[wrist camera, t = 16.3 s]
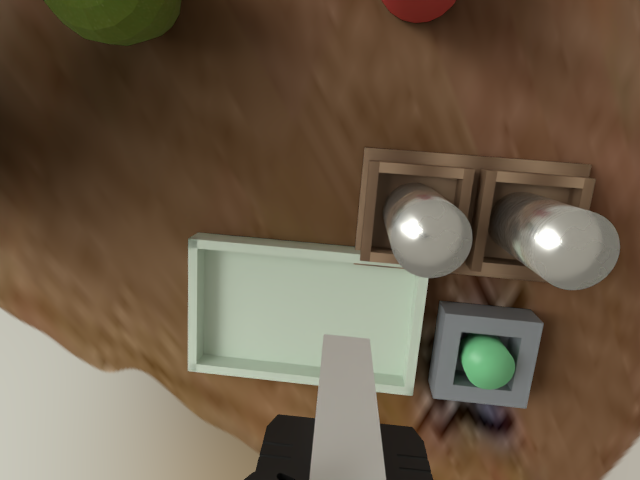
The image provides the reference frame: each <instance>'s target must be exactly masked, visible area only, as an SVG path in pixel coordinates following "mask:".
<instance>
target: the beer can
mask: <svg viewBox="0 0 640 480" xmlns="http://www.w3.org/2000/svg"><path fill="white" fill-rule="evenodd" d="M382 2H383V3H384V5H385V6H386V7H387V8H388V10H389V11H390V12H391V13H392V14H394V15H395V16H397V17H398V18H400V19H401V20H404V21H408V22H413V23H420V22H429V21H431V20H433V19H435V18H438V17H440V16H442V15H443V14H444V13H445V12H446V11H447V10H448V9H449V8H451V7H452V6H453V4H454V3H455V2H456V0H382Z"/></svg>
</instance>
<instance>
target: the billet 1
mask: <svg viewBox="0 0 640 480" xmlns="http://www.w3.org/2000/svg"><path fill="white" fill-rule="evenodd" d="M383 219H384V223H385V227H386V230H387V234H388V237H389V241H390V244H391V248H392V251H393V254H394V256H395V258H396V260H397V261H398V263H399V264H400V265H401V266H402V267H403V268H404V269H405V270H406V271H408V272H410V273H411V274H413V275H416V276H419V277H424V278H437V277H442V276H445V275H447V274H449V273H451V272H453V271H454V270H456V269H457V268H458V267H460V266H461V265H462V263H463V262H464V261H465V260H466V258H467V256H468V254H469V252H470V250H471V246H472V229H471V226H470V223H469V221H468V219H467V218H466V216H465V215H464V214H463V212H462V211H461V210H459V209H458V208H457V207H456V206H454V205H453V204H452V203H450V202H449V201H448V200H446V199H445V198H444V197H442V196H441V195H440V194H439V193H437V192H436V191H435V190H433V189H432V188H431V187H429V186H427V185H425V184H422V183H406V184H403V185H401V186H399V187H397V188H396V189H394V190H393V191H392V192H391V193H390V194H389V195H388V197H387V199H386V201H385V203H384V206H383Z"/></svg>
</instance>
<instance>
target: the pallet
mask: <svg viewBox="0 0 640 480" xmlns="http://www.w3.org/2000/svg"><path fill="white" fill-rule="evenodd" d="M590 170H591V165H589V164H579V163H566V162H553V161H539V160H526V159H513V158H500V157H487V156H474V155H461V154H447V153H434V152H421V151H408V150H395V149H382V148H369V147H364V157H363V168H362V179H361V189H360V200H359V211H358V222H357V232H356V243H355V250H360V261H368V262H379V263H390V264H399V263H398V261H397V260H396V258H395V256H394V254H393V251H392V248H391V244H390V241H389V237H388V234H387V230H386V227H385V223H384V219H383V206H384V203H385V201H386V199H387V197H388V195H389V194H390V193H391V192H392V191H393V190H394V189H396V188H397V187H399V186H401V185H403V184H406V183H422V184H425V185H427V186H429V187H431V188H432V189H433V190H435V191H436V192H437V193H439V194H440V195H441V196H442V197H444V198H445V199H446V200H448V201H449V202H450V203H452V204H453V205H454V206H456V207H457V208H458V209H459V210H461V211H462V212H463V214H464V215H465V216H466V218H467V219H468V221H469V223H470V226H471V229H472V246H471V250H470V252H469V254H468V256H467V258H466V260H465V261H464V262H463V263H462V265H461V266H460V267H458V268H457V269H456V270H454V271H453V272H451V273H452V274H463V275H473V276H484V277H495V278H506V279H516V280H527V281H538V282H547V281H546V280H544V279H543V278H542V277H540V276H539V275H538V274H536V273H535V272H534V271H532V270H531V269H529V268H528V267H527V266H525V265H524V264H523V263H521V262H520V261H519V260H517V259H516V258H515V257H513V256H512V255H510V254H509V253H508V252H506V251H505V250H504V249H502V248H501V247H500V246H498V245H497V244H496V243H495V242H494V241H493V240H492V238H491V237H490V235H489V232H488V227H489V221H490V215H491V208H492V207H493V205H494V204H495V203H496V202H497V201H498V200H499V199H500V198H502V197H503V196H505V195H507V194H510V193H513V192H528V193H532V194H535V195H539V196H542V197H545V198H549V199H552V200H555V201H558V202H562V203H565V204H568V205H572V206H575V207H578V208H581V209H585V210H588V211H589V209H590V205H591V200H592V195H593V191H594V186H595V181H596V179H594V178H589V175H590ZM354 264H355V265H366V266H376V267H387V268H398V269H404V268H402V267H391V266H380V265H369V264H359V263H354Z"/></svg>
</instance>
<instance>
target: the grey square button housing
mask: <svg viewBox="0 0 640 480" xmlns="http://www.w3.org/2000/svg"><path fill="white" fill-rule="evenodd" d="M543 325H544V323H543V322H542V321H541V320H540V319H539V318H538V317H537V316H536V315H535V314H534V313H533V312H532V311H531V310H530V309H520V308H510V307H500V306H489V305H479V304H469V303H458V302H448V301H439V307H438V314H437V321H436V328H435V335H434V342H433V349H432V356H431V363H430V370H429V377H428V382H429V385H430V389H431V392H432V396H433V398H435V399H444V400H453V401H462V402H471V403H480V404H489V405H498V406H507V407H516V408H527V403H528V398H529V393H530V388H531V383H532V378H533V373H534V368H535V364H536V359H537V354H538V349H539V344H540V339H541V334H542V329H543ZM469 333H477V334H487V335H496V336H498V337H499V338H500V340H501V341H502V343H503V344H504V346H505V347H506V348H507V350H508V351H509V353H510V354H511V356H512V357H513V359H514V362H515V371H514V374H513V377H512V378H511V380H510V381H509V382H508V383H507V384H505V385H504V386H502V387H500V388H497V389H491V390H488V389H482V388H479V387H477V386H475V385H474V384H472V383H471V382H470V380H469V379H468V377H467V375H466V373H465V371H464V368H463V366H462V364H461V362H460V359H459V357H458V349H459V344H460V342H461V340H462V339H463V338H464V337H465V336H466V335H468V334H469Z"/></svg>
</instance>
